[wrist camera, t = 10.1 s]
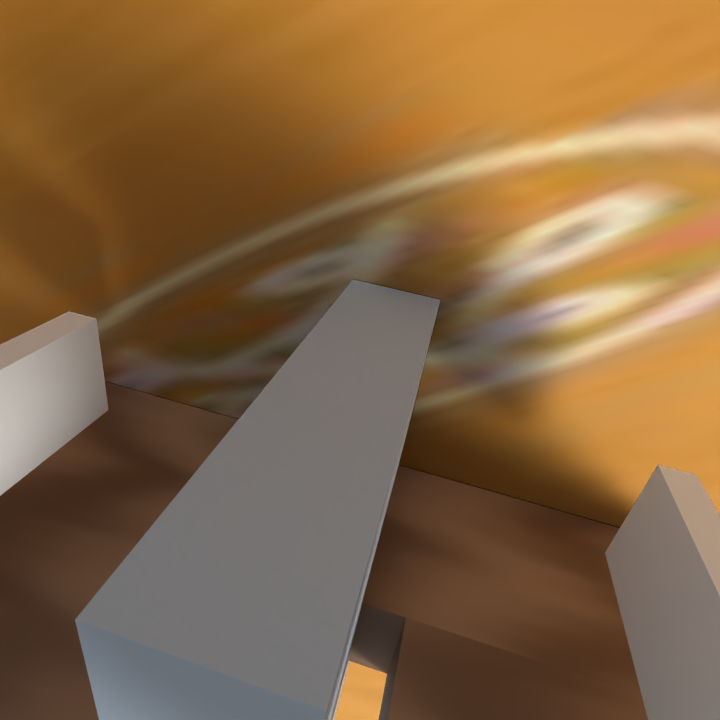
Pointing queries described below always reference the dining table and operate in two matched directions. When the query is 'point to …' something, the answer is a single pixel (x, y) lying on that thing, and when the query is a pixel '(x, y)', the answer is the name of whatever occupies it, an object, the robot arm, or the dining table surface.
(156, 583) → the pale blue flat slat
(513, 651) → the walnut slot plate
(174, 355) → the dining table surface
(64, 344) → the robot arm
